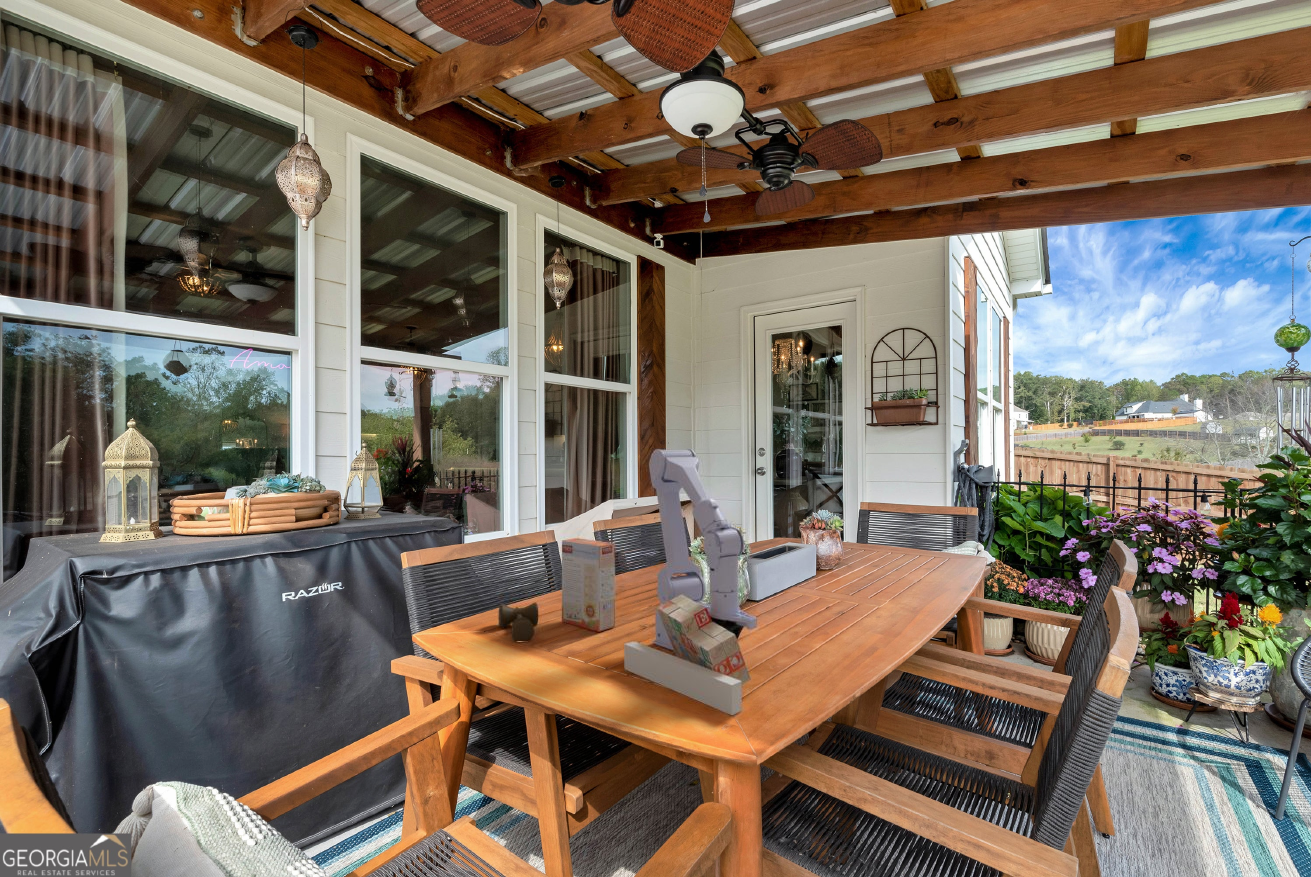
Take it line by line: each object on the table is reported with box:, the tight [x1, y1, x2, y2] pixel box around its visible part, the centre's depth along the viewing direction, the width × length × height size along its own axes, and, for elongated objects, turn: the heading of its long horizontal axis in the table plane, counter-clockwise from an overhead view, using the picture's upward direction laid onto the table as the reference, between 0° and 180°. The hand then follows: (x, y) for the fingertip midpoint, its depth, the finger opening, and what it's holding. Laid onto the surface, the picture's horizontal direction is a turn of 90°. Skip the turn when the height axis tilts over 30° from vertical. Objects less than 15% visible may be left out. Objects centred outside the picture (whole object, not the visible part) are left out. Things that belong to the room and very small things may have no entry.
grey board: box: [623, 640, 743, 716], centre depth 110 cm, size 28×2×5 cm, turn 43°
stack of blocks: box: [656, 595, 752, 686], centre depth 116 cm, size 21×6×12 cm, turn 21°
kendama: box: [498, 602, 539, 642], centre depth 145 cm, size 6×10×20 cm
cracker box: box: [561, 537, 616, 633], centre depth 149 cm, size 14×6×21 cm, turn 48°
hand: (725, 656), depth 119 cm, fingers closed
